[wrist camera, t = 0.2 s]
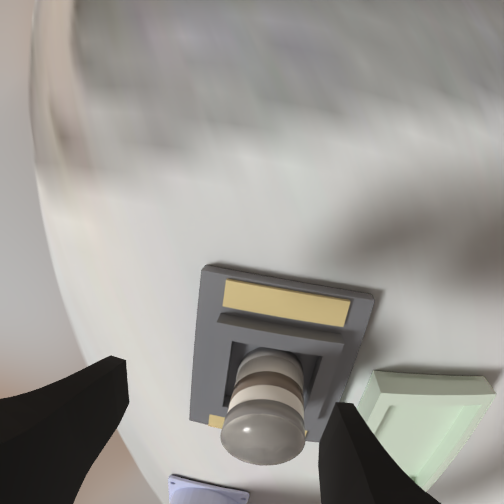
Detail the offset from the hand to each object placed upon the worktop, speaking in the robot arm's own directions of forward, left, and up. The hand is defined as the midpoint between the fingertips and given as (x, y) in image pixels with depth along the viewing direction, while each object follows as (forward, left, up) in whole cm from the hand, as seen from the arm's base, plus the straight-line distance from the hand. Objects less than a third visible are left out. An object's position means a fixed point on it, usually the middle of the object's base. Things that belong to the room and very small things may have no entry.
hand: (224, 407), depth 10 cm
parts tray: (-11, -14, -10) cm, 20 cm away
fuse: (-5, -2, -9) cm, 10 cm away
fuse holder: (-5, -2, -10) cm, 11 cm away
